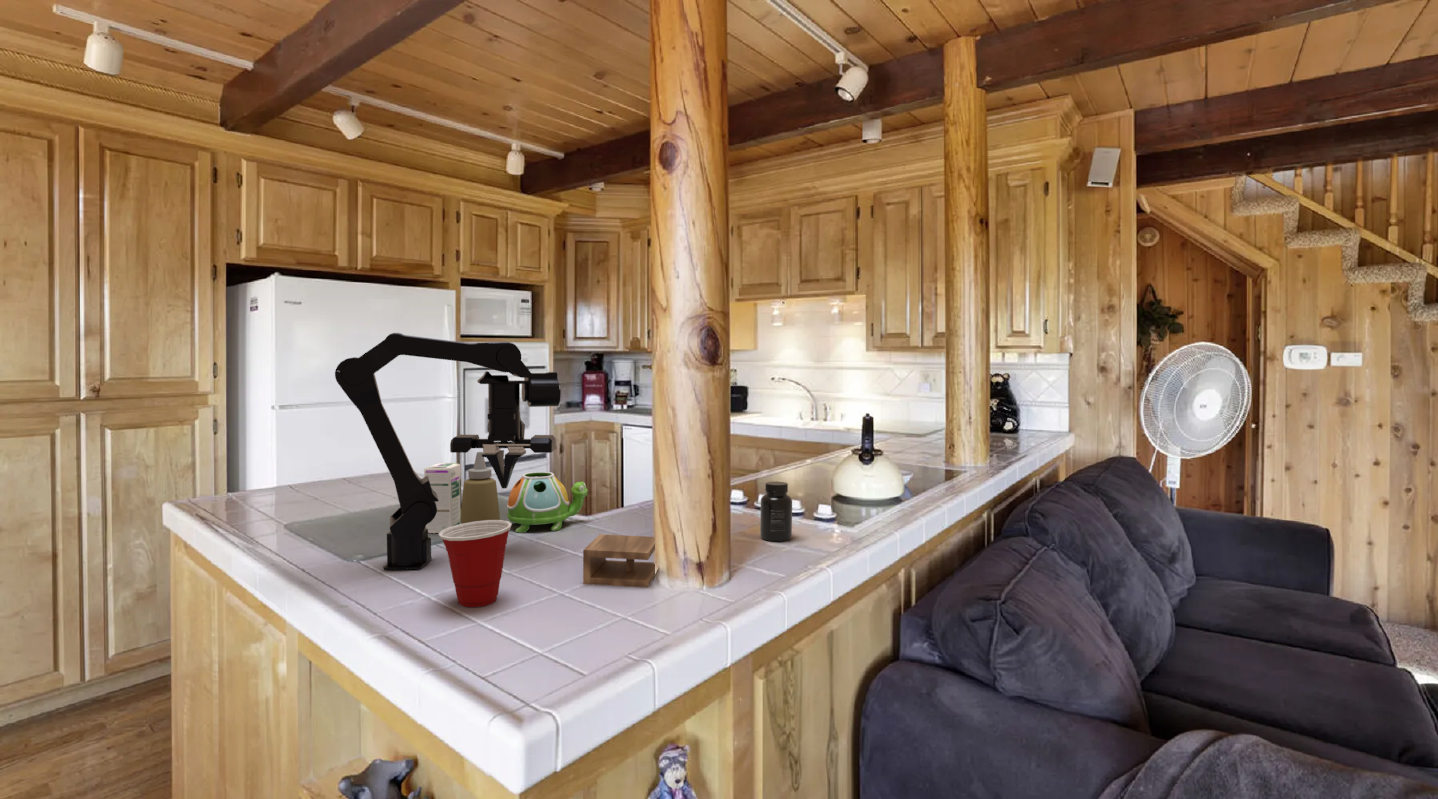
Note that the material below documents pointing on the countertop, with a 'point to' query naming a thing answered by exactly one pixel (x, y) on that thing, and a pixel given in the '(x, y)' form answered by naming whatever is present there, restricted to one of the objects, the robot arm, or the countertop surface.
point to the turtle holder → (543, 501)
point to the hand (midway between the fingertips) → (504, 488)
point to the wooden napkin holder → (619, 571)
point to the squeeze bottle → (479, 494)
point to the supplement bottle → (776, 513)
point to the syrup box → (445, 495)
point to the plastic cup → (476, 559)
